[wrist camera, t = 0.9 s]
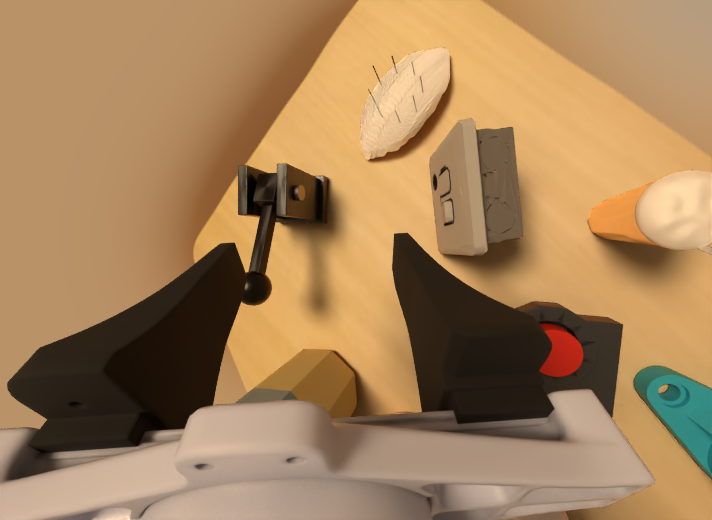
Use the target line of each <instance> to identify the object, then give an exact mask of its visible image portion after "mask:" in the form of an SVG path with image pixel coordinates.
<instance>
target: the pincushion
mask: <svg viewBox="0 0 712 520" xmlns="http://www.w3.org/2000/svg"><path fill="white" fill-rule="evenodd" d="M409 55H410V54H408V55H407V56H406V57H404V58H403V59H402V60H401V61H399V62H398V63H397V64H396V65H395V63H394V67H393V68H392V67H391V68H392V69H391V68H390V69H389V70H388V72H387V73H386V74H387V75H386V74H385V75H384V76H383V77H382V79H381V80H379V82H378V84H377V86H376V87H375V88H374V90H373V91H372V92H371V93H370V96H369V98H368V100H367V102H366V104H367V105H365V108H364V111H363V113H362V116H361V120H360V124H361V126H360V128H361V132H360V140H361V149H362V155H363V157H365V158H366V159H367V160H369V159H370V158H371V159H373V158H375V157H380V156H381V157H383V156H384V155H386V153H387V152H389V151H390V152H393V151H397V150H399V149H400V147H401V145H402V146H403V145H404V144H405V143H407V141H408V140H409V138H412V137H414V136H415V135H416V134H417V133H418V131H419V130H420V129H421V127H422V126H423V125H424V123H425V121H426V120H427V119H428V118H429V117H430V115H431V114H432V113H433V112H434V111H435V109H436V107H437V104H438V102H439V101H440V99H441V95H442V93H444V92H445V90H446V89H447V86H448V83H449V80H450V62H449V59H450V56H449V51H448V50H446V48H444V47H442V48H434V49H429V50H425V49H424V50H423V51H421V52H420V51H418V52H416V51H415V52H414V53H412V54H411V55H410V56H409ZM392 59H393V56H392ZM393 62H394V60H393ZM373 68H374V66H373ZM374 70H375V68H374ZM375 72H376V71H375ZM376 75H377V73H376ZM377 77H378V75H377ZM378 79H379V78H378ZM368 90H369V89H368ZM369 92H370V91H369Z"/></svg>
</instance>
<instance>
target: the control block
mask: <svg viewBox="0 0 712 520" xmlns="http://www.w3.org/2000/svg"><path fill="white" fill-rule="evenodd" d="M515 309H517V310H519V311H522V312H524V313H527V314H529V315H532V316H534V317H535V319H536V320H537V321H538V322H539V324H554V325H557V326H559V327H561V328H563V329H564V330H566V331H567V332H568V333H570V334H571V335H572V336H574V337H575V338H576V339H577V340H578V341H579V343H580V344H581V347H582V349H583V361H582V363H581V365H580V367H579V368H578V369H577V370H576V371H575V372H573V373H571V374H569V375H566V376H561V377H555V376H549V375H546V374H544V373H542V372H540V371H539V373H540V375H541V376H542V378H543V380H544V384H543V385H541V386H542V388H543V390H544V391H545V393H546V395H548V394H550V393H552V392H555V391H564V390H578V389H590V390H592V391H593V393H594V394H595V395H596V397H597V398H598V400H599V401H600V402H601V404H602V405H603V407H604V408H605V409H606V411H607V412H608V414H609V415H610V417H611V418H612V415H613V407H614V398H615V390H616V381H617V373H618V364H619V355H620V347H621V338H622V330H623V324H621V323H619V322H617V321H614V320H612V319H610V318H608V317H599V316H588V315H578V314H575V313H573V312H571V311H570V310H568V309H567V308H565V307H563V306H561V305H560V304H557V303H549V302H538V301H534V302H530V303H528V304H525V305H523V306H520V307H518V308H515Z"/></svg>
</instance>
